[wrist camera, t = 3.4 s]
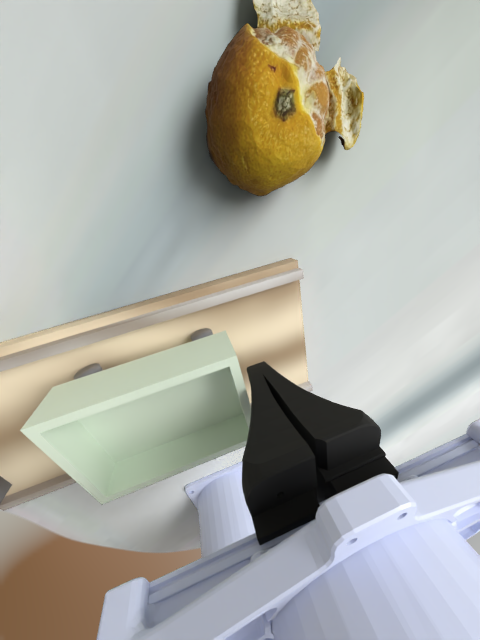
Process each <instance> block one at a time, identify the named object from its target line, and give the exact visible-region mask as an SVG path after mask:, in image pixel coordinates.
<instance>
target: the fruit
mask: <svg viewBox="0 0 480 640" xmlns="http://www.w3.org/2000/svg"><path fill="white" fill-rule="evenodd" d="M253 5H254V9H255V10H256V12H257V16H258V26H257V28H256V29H254V28H252V27H251V26H250V25H249V24H248V23H247V24H245V25H244V26H243V27H242V28H241V29H240V31H239V32H238V33H237V34H236V35H235V37H234V38H233V39H232V41H231V42H230V43H229V44H228V46H227V47H226V49H225V51H224V52H223V54H222V56H221V57H220V59H219V61H218V63H217V65H216V67H215V68H214V71H213V75H212V81H211V82H209V84H208V95H207V106H206V110H205V113H206V119H207V135H206V138H207V146H208V150H209V154H210V157H211V160H212V161H213V162H214V164H215V165H216V166H217V167H218V168H219V169H220V172H222V173H223V174H224V175H226V176H227V178H228V180H229V181H230V182H231V183H232V184H233V185H237V186H238V187H239V188H240V189H243V190H246V191H248V192H250V193H252V194H255V195H257V196H264V195H267V194H268V193H270V192H271V191H274V190H276V189H278V188H280V187H283V186H284V185H286V184H288V183H290V182H292V181H294V180H296V179H298V178H299V177H301V176H302V175H304V174H305V173H306V172H308V171H309V170H310V168H311V167H312V166H313V165H314V163H315V162H316V161H317V160H318V158H319V156H320V154H321V152H322V149H323V145H324V143H325V134H326V133H328V132H330V131H337V132H339V133H340V134H341V135H342V136H343V138H344V139H343V138H342V137H340V136H339V139H340V140H341V143H342V145H343V147H344V149H345V150H349V149H350V148H351V147H353V146H354V144H355V142H356V140H357V137H358V135H359V132H360V128H361V120H362V112H363V101H364V93H363V92H361V90H360V88H359V86H358V84H357V80H356V78H355V77H354V76H353V75H351V74H349V73H347V72H346V69H345V68H344V67H340V62H341V57H340V58H339V60H338V62H337V64H336V65H335V66H334V67H333V68H332V69H331V70H330V71H327V72H325V71H324V68H323V67H322V66H321V65H320V64H319V63H318V62H317V60H316V55H315V51H319V45H320V32H321V26H320V24H319V14H318V12H317V11H316V9H315V7H314V6H313V4H312V2H311V0H253Z"/></svg>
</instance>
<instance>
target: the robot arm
mask: <svg viewBox="0 0 480 640" xmlns="http://www.w3.org/2000/svg"><path fill="white" fill-rule="evenodd" d="M247 373H248V377H249V381H250V385H251V418H250V426H249V433H248V438H247V443H246V448H245V451H244V455H243V459H242V462H240V463H237V464H235V465H232V466H230V467H228V468H225V469H223V470H221V471H218V472H216V473H213V474H211V475H209V476H206V477H204V478H201V479H199V480H197V481H194V482H192V483H190V484H187V485H186V486H185V492H186V493H187V495H188V496H189V498H190V499H191V501H192V502H193V504H194V505H195V507H196V508H197V510H198V512H199V526H200V540H201V552H202V553H201V554H202V558H201V559H198V560H196V561H194V562H192V563H190V564H188V565H186V566H184V567H181V568H179V569H177V570H175V571H173V572H171V573H169V574H167V575H164V576H162V577H160V578H158V579H156V580H154V581H152V582H148V580H147V579H146V578H144V577H139V578H135V579H132V580H130V581H128V582H126V583H124V584H121V585H119V586H117V587H115V588H113V589H111V590H109V591H107V593H106V594H105V599H104V604H103V609H102V614H101V619H100V624H99V630H98V634H97V640H480V556H479V555H478V553H477V552H476V551H475V550H474V549H473V548H472V547H471V546H470V545H469V544H468V543H467V541H466V540H467V539H469V538H470V537H472V536H473V535H475V534H476V533H478V532H479V531H480V419H478V420H476V421H474V422H472V423H471V424H470V425H469V427H468V428H467V431H466V434H465V435H462V436H460V437H458V438H456V439H454V440H452V441H450V442H448V443H445V444H443V445H441V446H439V447H437V448H435V449H433V450H430V451H428V452H426V453H424V454H422V455H420V456H418V457H416V458H413V459H411V460H409V461H407V462H405V463H403V464H401V465H399V466H396V467H394V466H393V465H392V464H391V463H390V462H389V461H388V460H387V458H386V457H385V456H386V454H385V452H384V451H383V450H382V449H381V448H380V447H379V444H380V438H381V429H380V427H379V426H378V425H377V424H376V423H375V422H374V421H373V420H372V419H371V418H370V417H369V416H368V415H366V414H365V413H364V412H363V411H361V410H358V409H354V408H350V407H346V406H343V405H340V404H337V403H334V402H331V401H329V400H326V399H324V398H321V397H319V396H317V395H314V394H312V393H310V392H308V391H306V390H305V389H303V388H301V387H299V386H297V385H296V384H294V383H293V382H291V381H290V380H288V379H287V378H285V377H284V376H282V375H281V374H280V373H278V372H277V371H276V370H274V369H273V368H272V367H271V366H270V365H268V364H267V363H266V362H265V361H263V362H260V363H257V364H254V365H252V366H249V367H247Z"/></svg>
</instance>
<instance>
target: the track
mask: <svg viewBox="0 0 480 640" xmlns="http://www.w3.org/2000/svg"><path fill="white" fill-rule="evenodd" d="M303 278H304V277H303V269H300V268H298V260H295V259H292V258H289V259H286V260H282V261H279V262H276V263H272V264H269V265H265V266H262V267H258V268H255V269H252V270H248V271H245V272H241V273H238V274H234V275H231V276H228V277H224V278H221V279H217V280H214V281H210V282H207V283H203V284H200V285H197V286H193V287H190V288H186V289H183V290H179V291H176V292H173V293H169V294H166V295H162V296H159V297H155V298H152V299H149V300H145V301H142V302H138V303H135V304H131V305H128V306H125V307H121V308H118V309H114V310H111V311H107V312H104V313H101V314H97V315H94V316H90V317H87V318H83V319H80V320H76V321H73V322H70V323H66V324H63V325H59V326H56V327H52V328H49V329H46V330H42V331H39V332H35V333H32V334H28V335H25V336H22V337H18V338H15V339H11V340H8V341H4V342H1V343H0V509H1V510H3V511H4V510H7V509H9V508H12V507H14V506H17V505H19V504H22V503H25V502H27V501H30V500H32V499H35V498H37V497H40V496H43V495H45V494H48V493H50V492H53V491H55V490H58V489H61V488H63V487H66V486H68V485H71V484H73V483H76V481H75V480H74V479H73V478H72V477H71V476H69V475H68V474H67V473H66V472H65V471H64V470H63V469H62V468H61V467H60V466H58V465H57V464H56V463H55V462H54V461H53V460H52V459H51V458H50V457H48V456H47V455H46V454H45V453H44V452H43V451H42V450H41V449H40V448H39V447H37V446H36V445H35V444H34V443H33V442H32V441H31V440H30V439H29V438H28V437H26V436H25V435H24V434H23V433H22V432H21V431H20V430H21V428H22V427H23V426H24V424H25V423H26V422H27V420H28V419H29V418H30V416H31V415H32V414H33V412H34V411H35V410H36V408H37V407H38V406H39V405H40V403H41V402H42V401H43V399H44V398H45V397H46V395H47V394H48V393H49V391H50V390H51V389H52V387H54V386H57V385H60V384H63V383H66V382H69V381H72V380H74V375H75V374H76V373H77V372H78V371H79V370H81V369H82V368H84V367H86V366H88V365H90V364H94V363H98V364H100V366H101V367H102V369H103V370H106V369H109V368H112V367H115V366H118V365H121V364H124V363H127V362H130V361H133V360H136V359H140V358H143V357H146V356H149V355H152V354H155V353H158V352H161V351H164V350H167V349H170V348H173V347H176V346H179V345H182V344H185V343H188V342H192V340H191V335H192V334H193V333H194V332H195V331H197V330H200V329H203V328H209V329H211V330H212V333H213V334H216V333H219V332H222V331H225V330H226V333H227V335H228V337H229V339H230V342H231V344H232V346H233V348H234V351H235V353H236V355H237V359H238V362H239V366H240V369H241V373H242V376H243V380H244V384H245V387H246V391H247V394H248V398H249V402H250V405H251V385H250V381H249V377H248V373H247V367H249V366H252V365H254V364H257V363H260V362H263V361H265V362H266V363H267V364H268V365H270V366H271V367H272V368H273V369H274V370H276V371H277V372H278V373H280V374H281V375H282V376H284V377H285V378H287V379H288V380H290V381H291V382H293V383H294V384H296V385H297V386H299V387H301V388H303V389H305V390H306V391H308V392H310V391H312V385H311V384H310V382H309V381H308V371H307V360H306V349H305V338H304V327H303V315H302V304H301V293H300V282H299V280H300V279H303Z"/></svg>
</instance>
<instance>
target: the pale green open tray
mask: <svg viewBox="0 0 480 640" xmlns="http://www.w3.org/2000/svg"><path fill="white" fill-rule="evenodd" d="M191 340H192V342H188V343H185V344H182V345H179V346H176V347H173V348H170V349H167V350H164V351H161V352H158V353H155V354H152V355H149V356H146V357H143V358H140V359H136V360H133V361H130V362H127V363H124V364H121V365H118V366H115V367H112V368H109V369H106V370H103V369H102V367H101V366H100V364H98V363H94V364H90V365H88V366H86V367H84V368H82V369H81V370H79V371H78V372H77V373H76V374H75V375H74V380H72V381H69V382H66V383H63V384H60V385H57V386H54V387H52V389H51V390H50V391H49V393H48V394H47V395H46V397H45V398H44V399H43V401H42V402H41V403H40V405H39V406H38V407H37V408H36V410H35V411H34V412H33V414H32V415H31V416H30V418H29V419H28V420H27V422H26V423H25V424H24V426H23V427H22V428H21V430H20V431H21V432H22V433H23V434H24V435H25V436H26V437H28V438H29V439H30V440H31V441H32V442H33V443H34V444H35V445H36V446H37V447H39V448H40V449H41V450H42V451H43V452H44V453H45V454H46V455H47V456H48V457H50V458H51V459H52V460H53V461H54V462H55V463H56V464H57V465H58V466H60V467H61V468H62V469H63V470H64V471H65V472H66V473H67V474H68V475H69V476H71V477H72V478H73V479H74V480H75V481H76V482H77V483H78V484H79V485H80V486H82V487H83V488H84V489H85V490H86V491H87V492H88V493H89V494H90V495H92V496H93V497H94V498H95V499H96V500H97V501H98V502H99V503H100V504H101V505H103V504H105V503H108V502H110V501H113V500H115V499H117V498H120V497H122V496H125V495H127V494H130V493H132V492H135V491H137V490H139V489H142V488H144V487H147V486H149V485H152V484H154V483H157V482H159V481H161V480H164V479H166V478H169V477H171V476H174V475H176V474H178V473H181V472H183V471H186V470H188V469H191V468H193V467H196V466H198V465H200V464H203V463H205V462H208V461H210V460H213V459H215V458H218V457H220V456H222V455H225V454H227V453H230V452H232V451H235V450H237V449H240V448H242V447H244V446H246V443H247V438H248V433H249V426H250V418H251V405H250V402H249V398H248V394H247V391H246V387H245V384H244V380H243V376H242V373H241V369H240V366H239V362H238V359H237V355H236V353H235V351H234V348H233V346H232V344H231V342H230V339H229V337H228V335H227V333H226V330H225V331H222V332H219V333H216V334H213V333H212V330H211V329H209V328H203V329H200V330H197V331H195V332H194V333H193V334H192V335H191Z"/></svg>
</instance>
